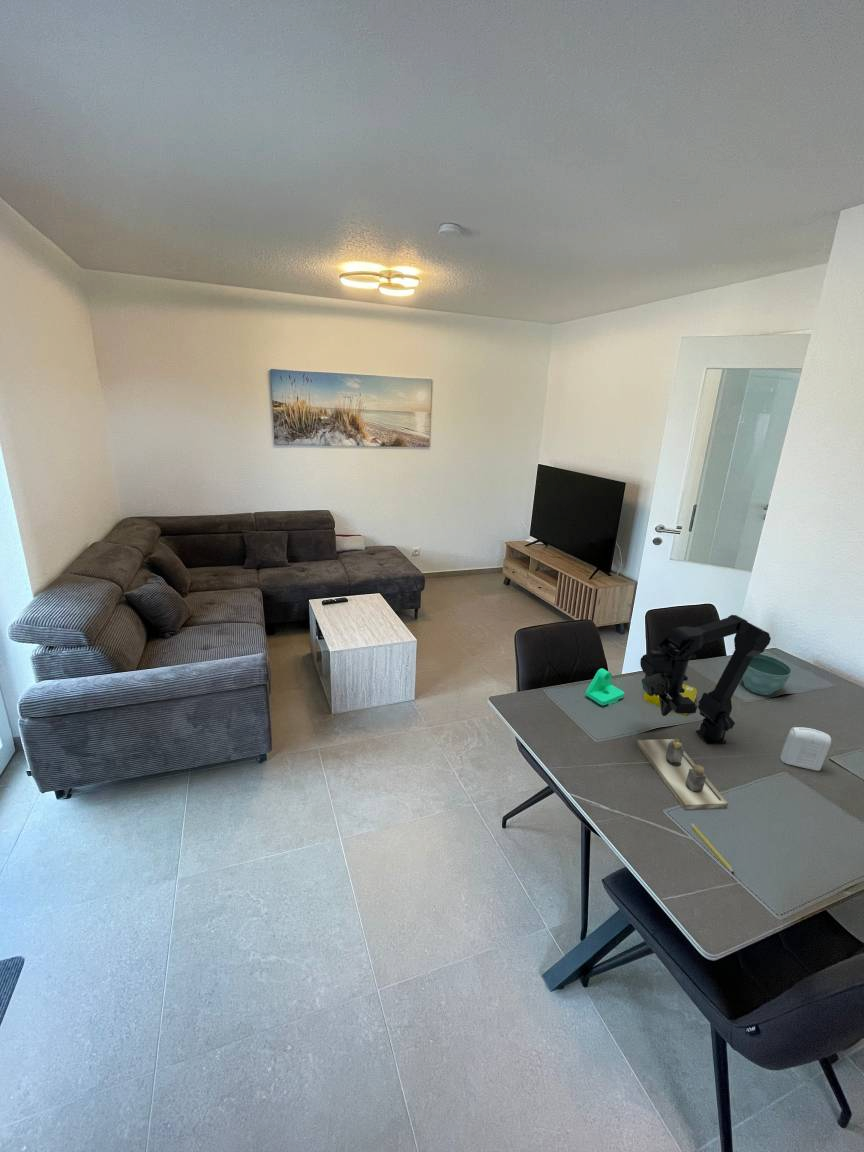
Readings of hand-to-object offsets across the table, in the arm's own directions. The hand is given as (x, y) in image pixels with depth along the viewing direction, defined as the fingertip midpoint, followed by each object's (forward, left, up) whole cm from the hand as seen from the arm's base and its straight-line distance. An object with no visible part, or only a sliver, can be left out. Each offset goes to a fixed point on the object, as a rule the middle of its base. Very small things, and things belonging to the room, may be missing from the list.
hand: (663, 715), depth 151 cm
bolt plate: (0, +12, -11) cm, 16 cm away
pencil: (+6, +37, -12) cm, 39 cm away
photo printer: (-40, +10, -12) cm, 43 cm away
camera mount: (+5, -26, -12) cm, 29 cm away
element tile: (-18, -25, -12) cm, 33 cm away
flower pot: (-57, -30, -12) cm, 66 cm away
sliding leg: (0, +8, -9) cm, 13 cm away
